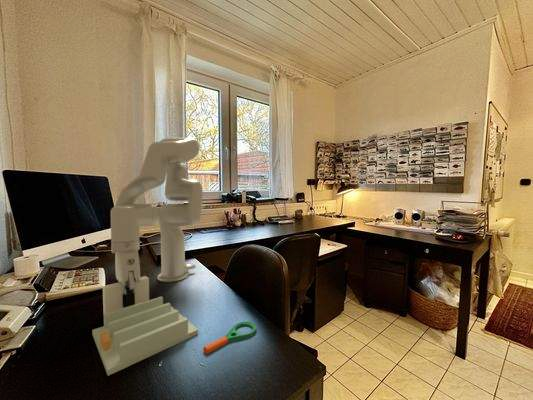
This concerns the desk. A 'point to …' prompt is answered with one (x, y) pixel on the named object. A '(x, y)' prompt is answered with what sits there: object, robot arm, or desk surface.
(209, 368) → the desk surface
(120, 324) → the rack
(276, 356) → the desk surface
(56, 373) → the desk surface
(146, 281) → the panel
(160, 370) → the desk surface
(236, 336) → the magnifying glass
